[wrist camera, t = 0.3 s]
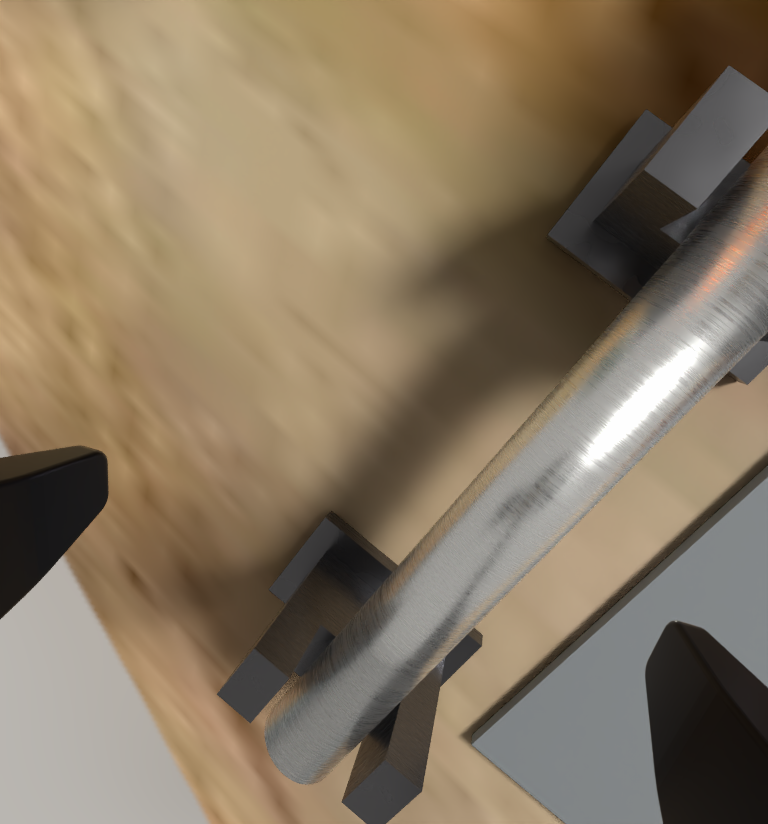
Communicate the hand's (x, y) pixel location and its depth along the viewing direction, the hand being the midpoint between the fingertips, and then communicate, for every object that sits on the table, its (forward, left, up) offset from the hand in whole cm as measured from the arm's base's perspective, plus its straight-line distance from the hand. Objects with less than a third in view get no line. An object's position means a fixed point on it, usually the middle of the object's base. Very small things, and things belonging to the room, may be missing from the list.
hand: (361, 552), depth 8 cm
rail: (0, -3, -8) cm, 9 cm away
